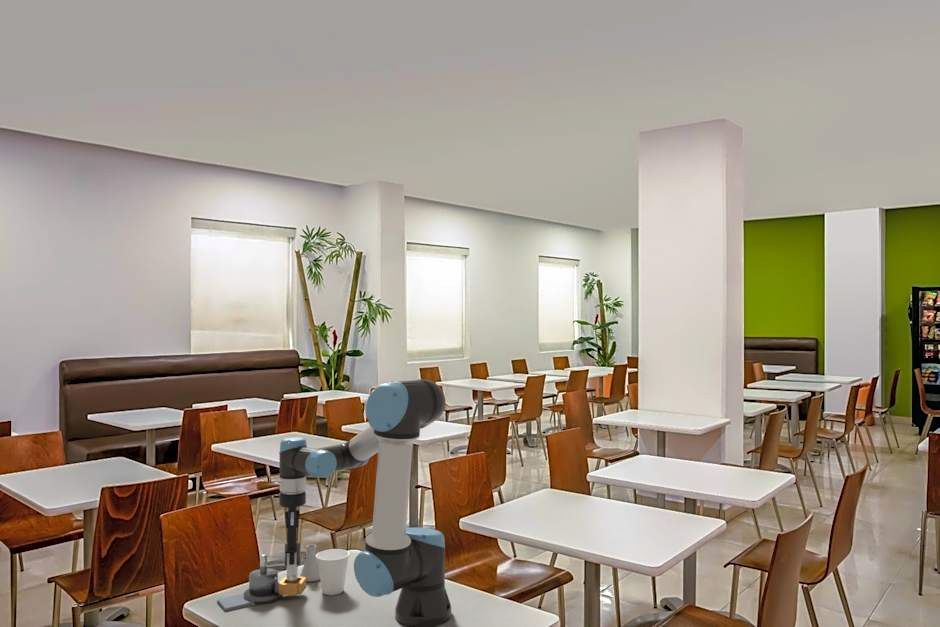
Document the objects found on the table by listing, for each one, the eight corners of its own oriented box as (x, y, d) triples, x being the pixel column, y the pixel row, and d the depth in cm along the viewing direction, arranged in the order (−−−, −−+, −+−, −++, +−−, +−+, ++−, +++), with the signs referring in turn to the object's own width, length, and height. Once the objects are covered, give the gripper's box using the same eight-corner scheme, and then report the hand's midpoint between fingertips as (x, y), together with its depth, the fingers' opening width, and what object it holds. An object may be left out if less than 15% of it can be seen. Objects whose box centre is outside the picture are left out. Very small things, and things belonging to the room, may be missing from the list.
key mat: (254, 604, 198) (254, 601, 198) (225, 611, 194) (225, 608, 194) (245, 595, 205) (245, 592, 205) (217, 601, 200) (217, 599, 200)
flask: (294, 581, 216) (294, 548, 216) (307, 573, 223) (307, 541, 223) (315, 583, 214) (315, 550, 214) (327, 575, 221) (327, 543, 221)
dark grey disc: (288, 598, 203) (288, 593, 203) (250, 607, 196) (250, 602, 196) (275, 586, 212) (275, 581, 212) (238, 595, 205) (238, 589, 205)
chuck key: (296, 590, 207) (296, 541, 209) (302, 593, 203) (302, 543, 205) (281, 593, 204) (282, 543, 206) (288, 596, 201) (288, 545, 203)
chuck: (245, 595, 200) (245, 559, 200) (254, 585, 208) (254, 550, 208) (299, 596, 200) (299, 560, 200) (307, 585, 208) (307, 551, 208)
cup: (353, 586, 212) (353, 549, 212) (344, 598, 202) (344, 560, 202) (321, 584, 213) (321, 548, 213) (311, 597, 203) (311, 559, 203)
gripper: (280, 485, 214) (279, 562, 213) (278, 499, 196) (277, 583, 196) (305, 484, 215) (304, 560, 215) (306, 497, 198) (305, 581, 197)
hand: (291, 571), depth 205 cm, fingers closed on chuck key, 5 cm apart
